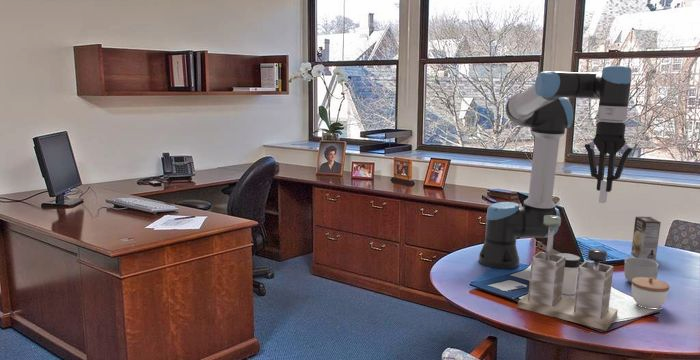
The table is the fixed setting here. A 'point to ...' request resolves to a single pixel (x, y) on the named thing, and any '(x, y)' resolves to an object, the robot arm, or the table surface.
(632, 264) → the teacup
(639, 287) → the lidded jar
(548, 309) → the stand
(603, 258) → the plunger
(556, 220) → the plunger
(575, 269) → the jar
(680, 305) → the table surface
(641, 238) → the coffee box
